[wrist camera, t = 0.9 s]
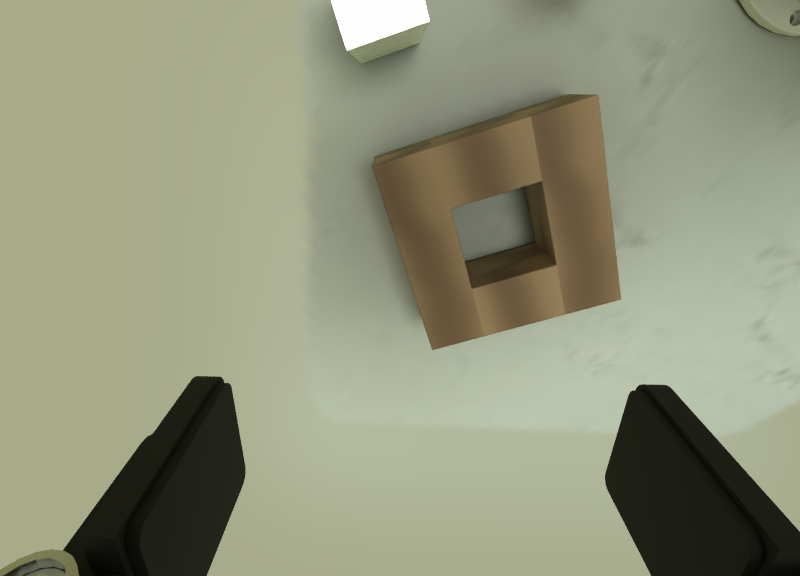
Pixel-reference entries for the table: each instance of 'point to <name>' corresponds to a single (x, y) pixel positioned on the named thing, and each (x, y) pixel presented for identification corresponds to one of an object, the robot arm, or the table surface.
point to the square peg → (380, 25)
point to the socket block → (549, 210)
